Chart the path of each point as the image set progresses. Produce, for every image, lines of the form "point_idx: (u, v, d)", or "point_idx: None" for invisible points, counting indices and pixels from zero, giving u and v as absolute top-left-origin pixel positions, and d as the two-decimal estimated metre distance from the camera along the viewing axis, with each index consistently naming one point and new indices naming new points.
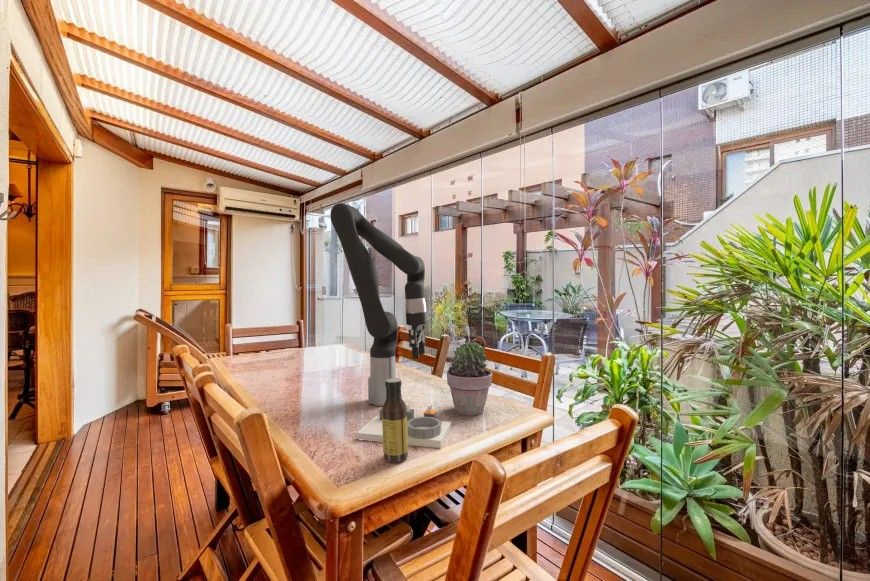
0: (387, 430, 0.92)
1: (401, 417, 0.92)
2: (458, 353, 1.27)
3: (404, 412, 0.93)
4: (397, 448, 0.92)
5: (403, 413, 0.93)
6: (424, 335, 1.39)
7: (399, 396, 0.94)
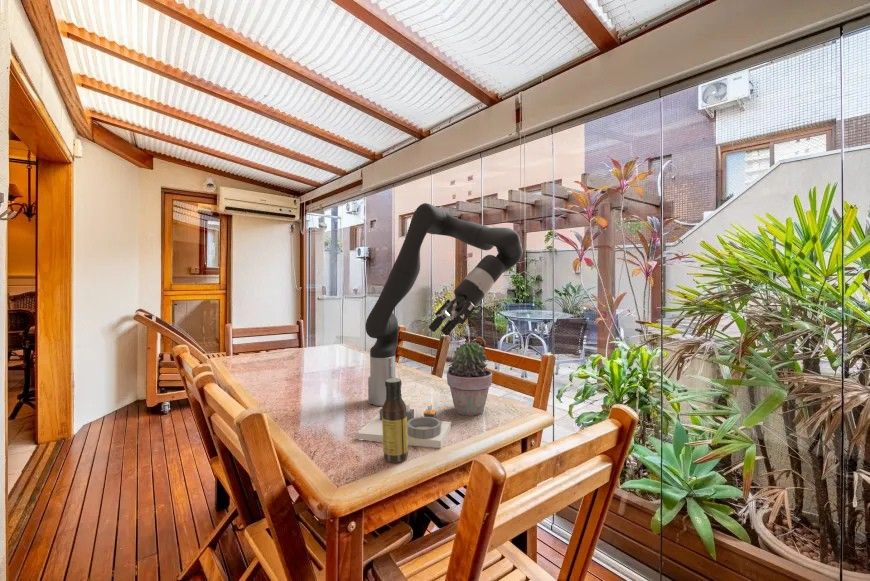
0: (387, 430, 0.92)
1: (401, 417, 0.92)
2: (458, 353, 1.27)
3: (404, 412, 0.93)
4: (397, 448, 0.92)
5: (403, 413, 0.93)
6: None
7: (399, 396, 0.94)
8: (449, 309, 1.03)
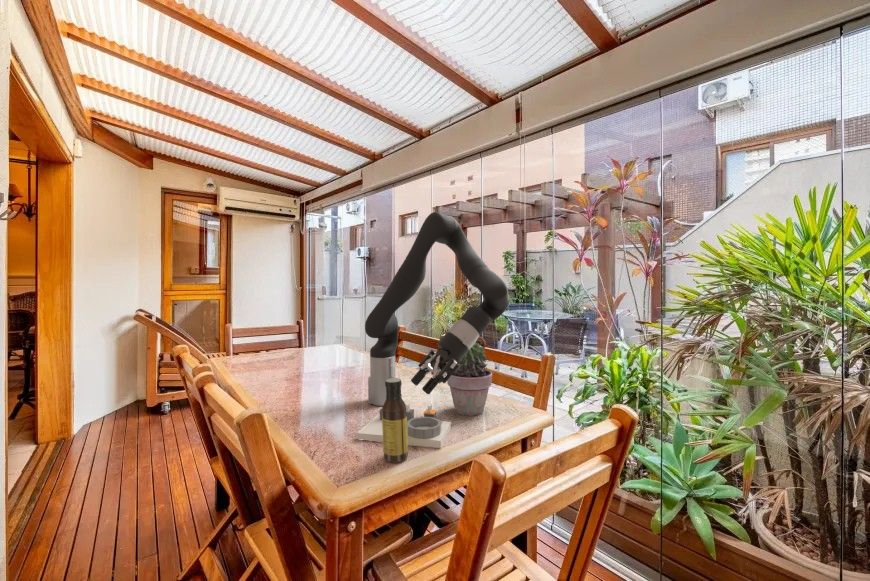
0: (387, 430, 0.92)
1: (401, 417, 0.92)
2: None
3: (404, 412, 0.93)
4: (397, 448, 0.92)
5: (403, 413, 0.93)
6: None
7: (399, 396, 0.94)
8: (432, 363, 0.99)
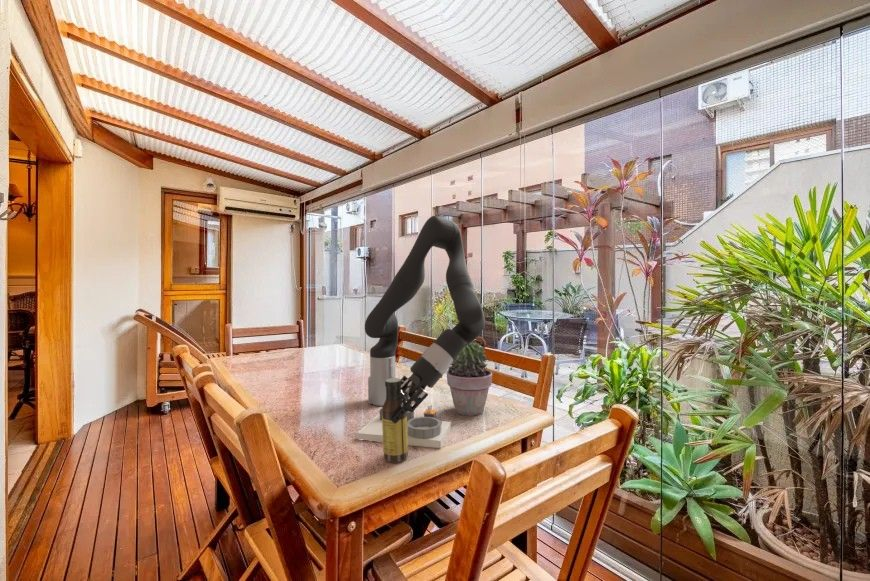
0: (387, 430, 0.92)
1: (401, 417, 0.92)
2: None
3: None
4: (397, 447, 0.92)
5: None
6: None
7: (399, 396, 0.94)
8: (405, 389, 0.96)
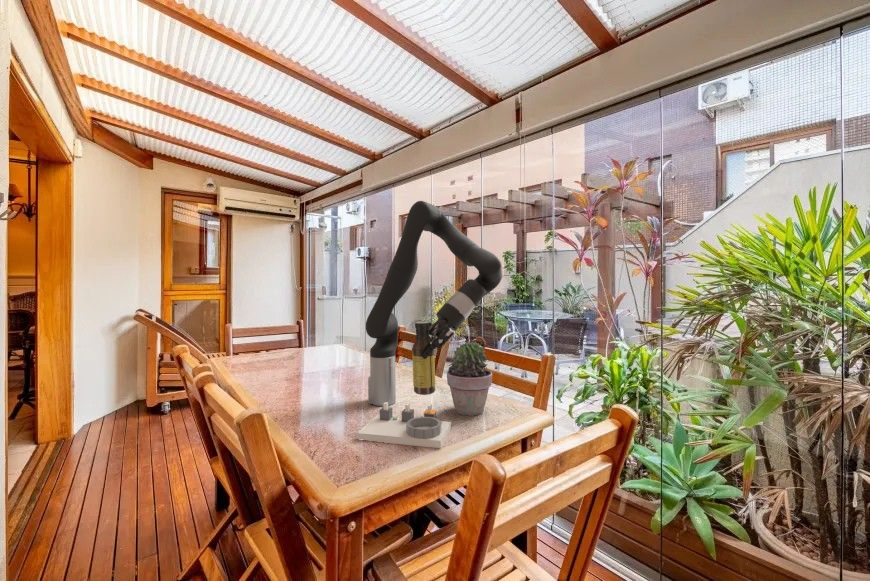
0: (417, 365, 1.04)
1: (430, 354, 1.04)
2: (458, 353, 1.27)
3: None
4: (427, 381, 1.04)
5: None
6: None
7: (428, 336, 1.05)
8: (432, 331, 1.08)
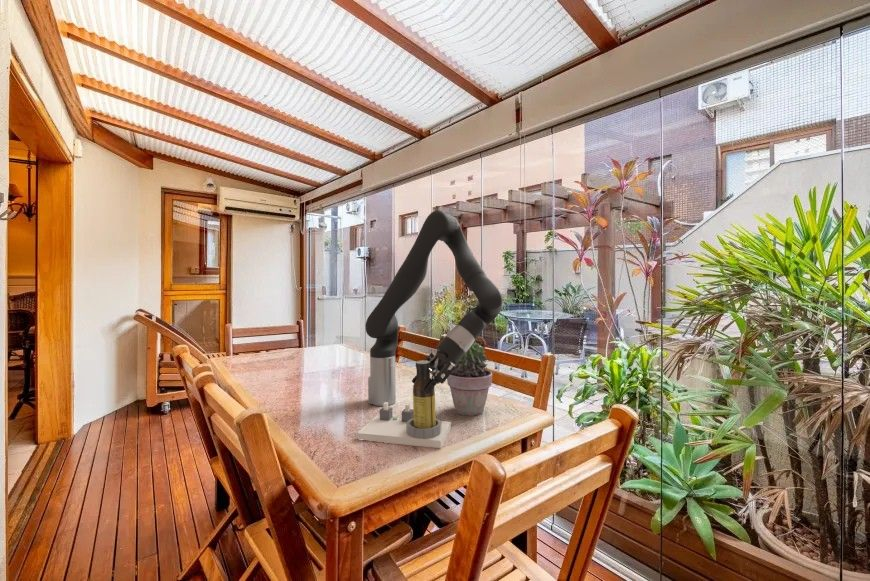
0: (418, 406, 1.04)
1: (430, 394, 1.04)
2: None
3: (433, 390, 1.05)
4: (427, 421, 1.04)
5: (432, 391, 1.05)
6: None
7: (428, 376, 1.05)
8: (431, 365, 1.08)
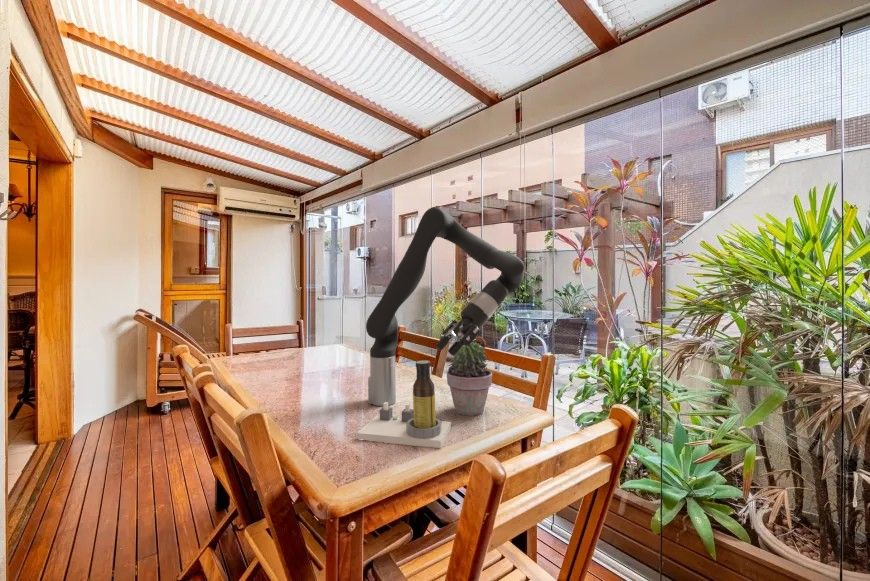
0: (418, 405, 1.04)
1: (430, 394, 1.04)
2: (458, 353, 1.27)
3: (433, 390, 1.05)
4: (427, 421, 1.04)
5: (432, 391, 1.05)
6: None
7: (428, 376, 1.05)
8: (456, 330, 1.11)
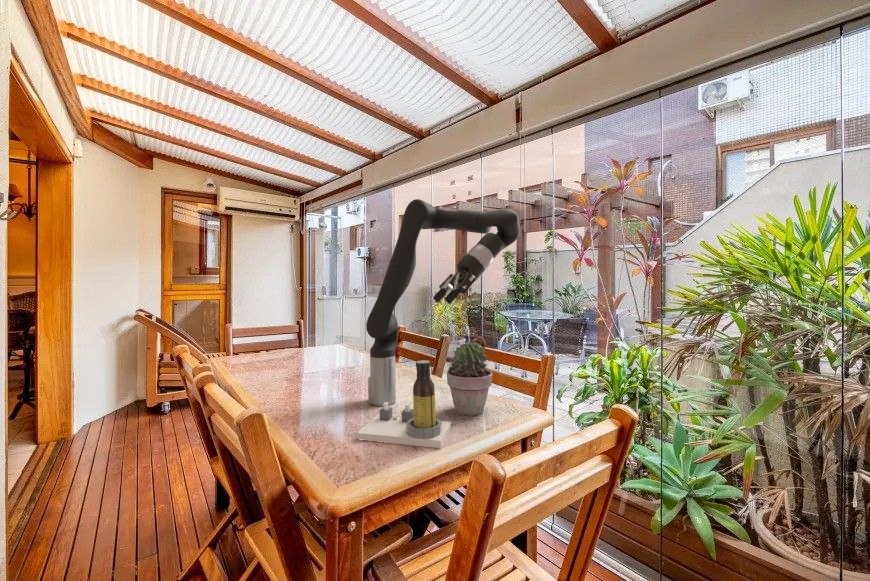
0: (418, 405, 1.04)
1: (430, 394, 1.04)
2: (458, 353, 1.27)
3: (433, 390, 1.05)
4: (427, 421, 1.04)
5: (432, 391, 1.05)
6: None
7: (429, 376, 1.05)
8: (452, 281, 1.12)
